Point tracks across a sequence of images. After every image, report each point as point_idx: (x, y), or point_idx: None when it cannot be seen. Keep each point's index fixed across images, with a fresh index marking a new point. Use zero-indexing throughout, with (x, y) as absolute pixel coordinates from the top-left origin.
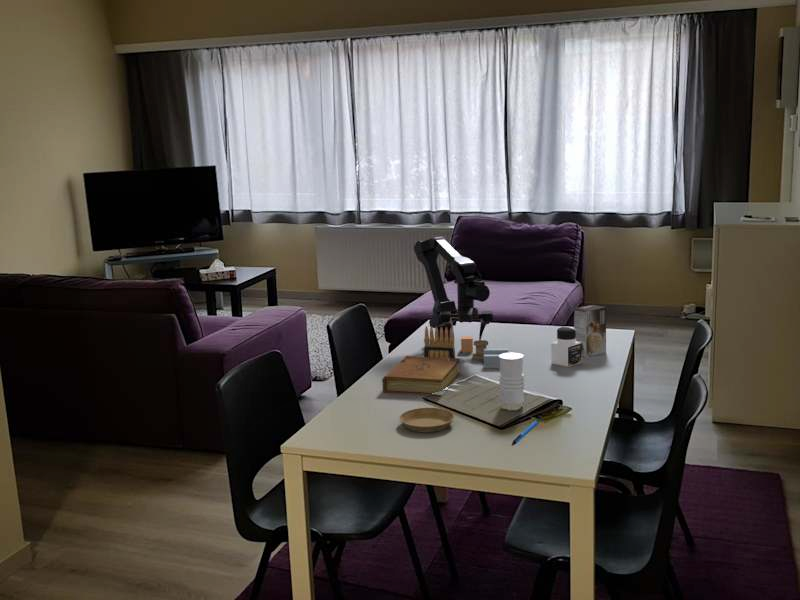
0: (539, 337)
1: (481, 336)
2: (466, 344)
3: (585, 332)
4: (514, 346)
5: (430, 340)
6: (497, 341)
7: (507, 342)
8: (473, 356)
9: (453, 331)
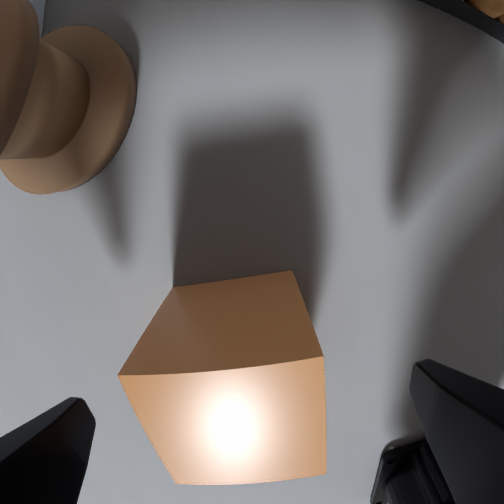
0: None
1: (33, 420)
2: (229, 320)
3: None
4: (3, 413)
5: None
6: (119, 497)
7: None
8: (112, 40)
9: (459, 479)
